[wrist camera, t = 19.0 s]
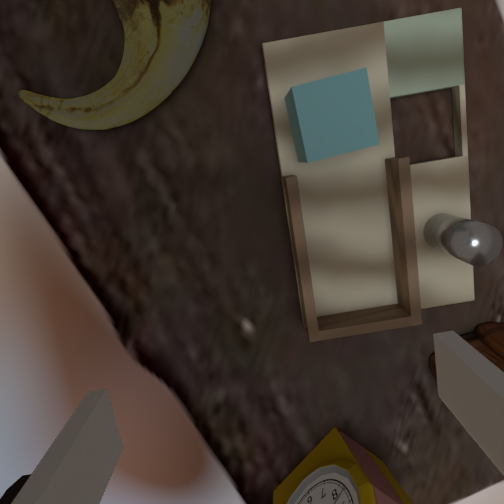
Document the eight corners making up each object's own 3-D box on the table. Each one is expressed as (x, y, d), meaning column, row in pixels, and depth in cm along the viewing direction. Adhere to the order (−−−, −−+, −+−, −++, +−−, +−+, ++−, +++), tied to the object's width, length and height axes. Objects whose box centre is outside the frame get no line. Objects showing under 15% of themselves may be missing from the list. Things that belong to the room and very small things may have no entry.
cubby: (282, 176, 39) (285, 178, 36) (395, 157, 39) (409, 156, 35) (304, 327, 43) (310, 342, 39) (408, 310, 42) (422, 324, 39)
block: (284, 98, 37) (291, 86, 32) (347, 81, 37) (366, 67, 31) (298, 162, 39) (307, 162, 33) (359, 146, 38) (379, 144, 33)
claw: (158, -74, 35) (147, -101, 32) (244, 10, 36) (242, -7, 33) (27, 100, 38) (4, 92, 35) (109, 173, 39) (95, 173, 36)
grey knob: (422, 216, 40) (458, 227, 33) (458, 210, 40) (501, 220, 33) (424, 250, 41) (460, 269, 34) (460, 245, 41) (502, 262, 34)
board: (261, 47, 38) (262, 43, 36) (452, 13, 37) (461, 7, 36) (302, 322, 44) (304, 327, 43) (466, 295, 44) (474, 300, 42)
